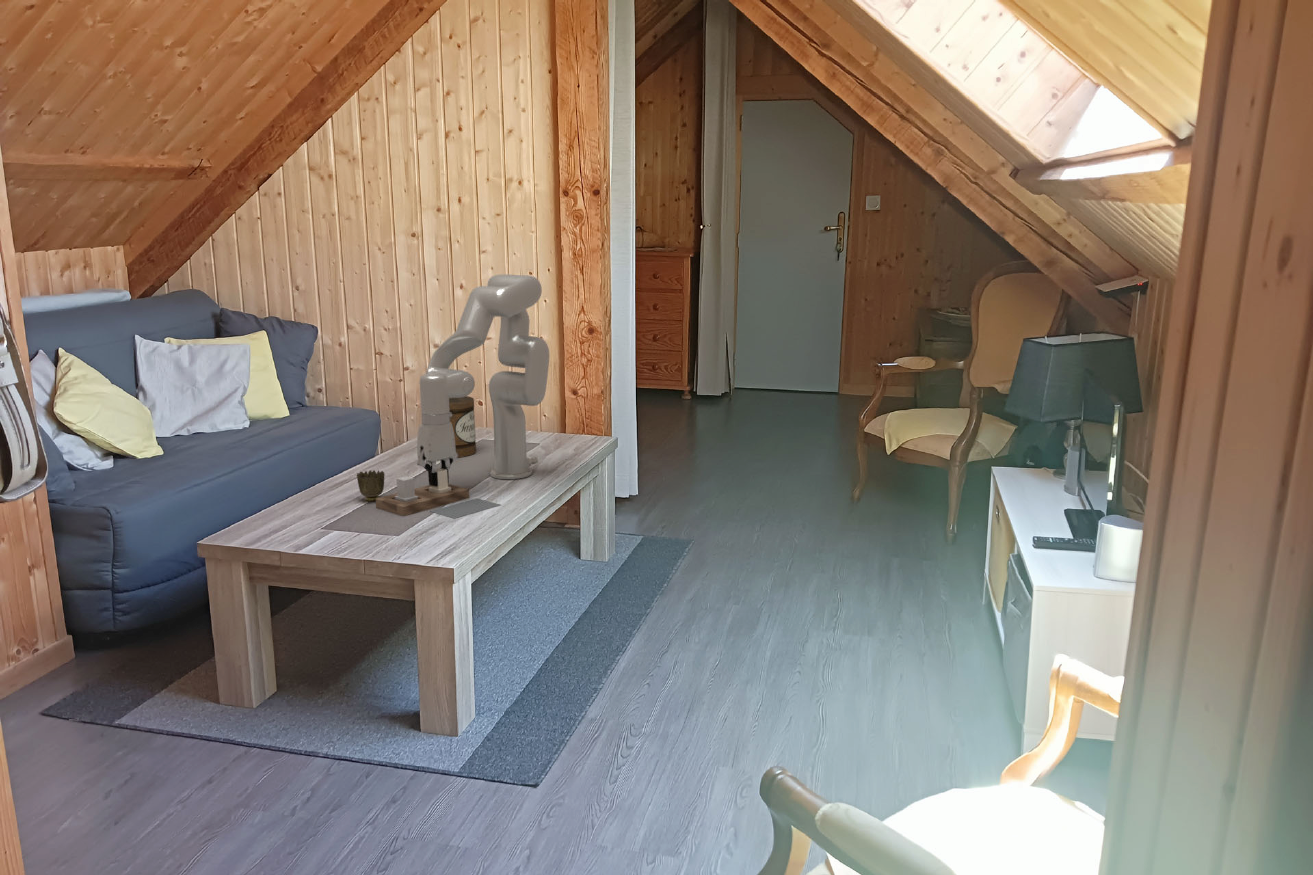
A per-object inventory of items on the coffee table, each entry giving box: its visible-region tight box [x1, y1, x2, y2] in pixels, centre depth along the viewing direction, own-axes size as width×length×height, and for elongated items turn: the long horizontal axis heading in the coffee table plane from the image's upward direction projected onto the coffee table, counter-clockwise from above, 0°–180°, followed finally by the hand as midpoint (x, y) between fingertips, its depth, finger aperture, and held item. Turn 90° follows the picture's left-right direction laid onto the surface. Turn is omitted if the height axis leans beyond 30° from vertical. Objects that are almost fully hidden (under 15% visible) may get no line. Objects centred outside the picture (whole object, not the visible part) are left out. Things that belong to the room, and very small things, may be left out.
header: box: [375, 483, 470, 517], centre depth 270 cm, size 22×12×3 cm, turn 140°
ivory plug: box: [429, 467, 451, 494], centre depth 274 cm, size 4×5×8 cm
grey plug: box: [395, 475, 418, 503], centre depth 266 cm, size 4×5×8 cm
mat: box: [430, 497, 501, 520], centre depth 266 cm, size 16×10×1 cm, turn 140°
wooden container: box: [449, 395, 477, 459], centre depth 327 cm, size 15×15×22 cm
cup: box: [356, 469, 386, 502], centre depth 273 cm, size 8×7×8 cm
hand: (438, 483), depth 274 cm, fingers closed on ivory plug, 3 cm apart
